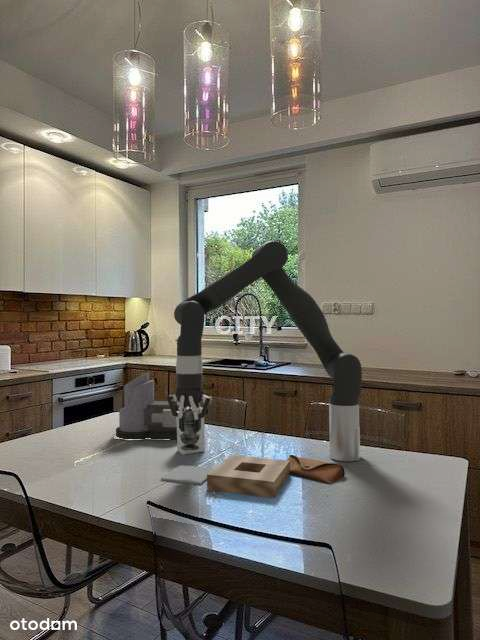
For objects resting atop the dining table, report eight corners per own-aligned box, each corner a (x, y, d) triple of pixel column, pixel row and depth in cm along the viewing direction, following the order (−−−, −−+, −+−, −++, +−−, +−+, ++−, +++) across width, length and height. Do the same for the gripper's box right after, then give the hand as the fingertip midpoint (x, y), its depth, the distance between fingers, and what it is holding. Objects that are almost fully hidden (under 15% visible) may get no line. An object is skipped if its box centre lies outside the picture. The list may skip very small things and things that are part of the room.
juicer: (105, 440, 172) (104, 374, 172) (123, 429, 187) (122, 369, 187) (183, 442, 167) (182, 375, 167) (194, 432, 183) (194, 370, 183)
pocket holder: (290, 474, 131) (289, 460, 131) (274, 497, 114) (273, 481, 114) (230, 468, 137) (230, 455, 137) (206, 489, 120) (206, 474, 120)
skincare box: (199, 447, 160) (198, 404, 160) (205, 452, 155) (205, 407, 155) (176, 450, 156) (175, 407, 156) (181, 455, 151) (181, 410, 151)
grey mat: (217, 470, 135) (217, 468, 135) (201, 484, 124) (201, 482, 124) (180, 466, 139) (180, 464, 139) (161, 480, 128) (161, 477, 128)
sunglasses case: (274, 472, 133) (280, 449, 136) (285, 478, 138) (290, 456, 141) (332, 484, 123) (338, 460, 125) (342, 491, 128) (346, 467, 130)
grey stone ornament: (196, 451, 128) (196, 408, 128) (176, 450, 129) (176, 407, 129) (202, 445, 134) (202, 404, 134) (183, 444, 135) (183, 403, 135)
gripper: (217, 370, 133) (217, 430, 133) (173, 369, 137) (173, 427, 137) (207, 373, 126) (207, 436, 126) (160, 372, 130) (161, 432, 130)
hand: (189, 431), depth 131 cm, fingers closed on grey stone ornament, 3 cm apart
